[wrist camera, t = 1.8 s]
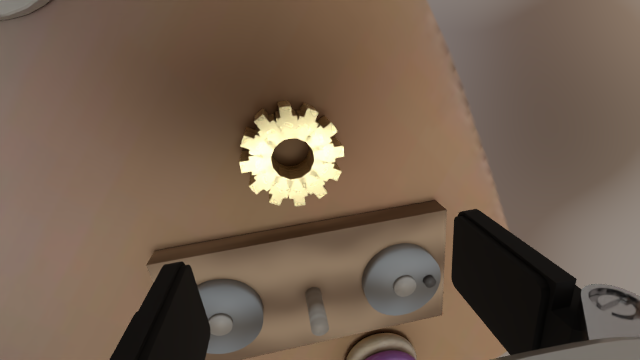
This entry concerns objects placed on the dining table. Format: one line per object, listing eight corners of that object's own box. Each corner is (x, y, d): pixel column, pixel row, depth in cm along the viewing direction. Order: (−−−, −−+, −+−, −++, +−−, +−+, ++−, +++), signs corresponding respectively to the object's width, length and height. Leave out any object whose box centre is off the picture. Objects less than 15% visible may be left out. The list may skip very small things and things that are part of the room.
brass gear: (233, 108, 23) (228, 114, 20) (330, 94, 24) (339, 99, 21) (252, 197, 26) (250, 214, 23) (339, 183, 27) (347, 197, 24)
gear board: (154, 250, 26) (124, 301, 21) (435, 200, 29) (475, 233, 23) (192, 352, 31) (176, 417, 25) (432, 300, 33) (465, 348, 28)
